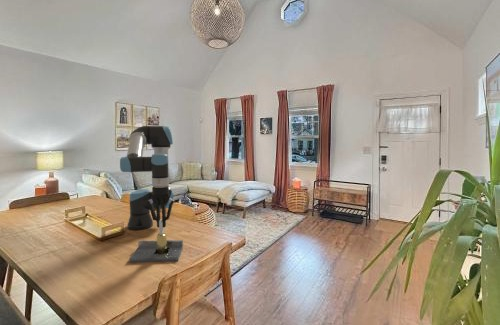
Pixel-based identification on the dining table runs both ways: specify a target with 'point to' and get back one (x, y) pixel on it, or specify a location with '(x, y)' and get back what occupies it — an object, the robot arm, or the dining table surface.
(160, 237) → the cylinder
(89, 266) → the dining table surface
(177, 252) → the plate
